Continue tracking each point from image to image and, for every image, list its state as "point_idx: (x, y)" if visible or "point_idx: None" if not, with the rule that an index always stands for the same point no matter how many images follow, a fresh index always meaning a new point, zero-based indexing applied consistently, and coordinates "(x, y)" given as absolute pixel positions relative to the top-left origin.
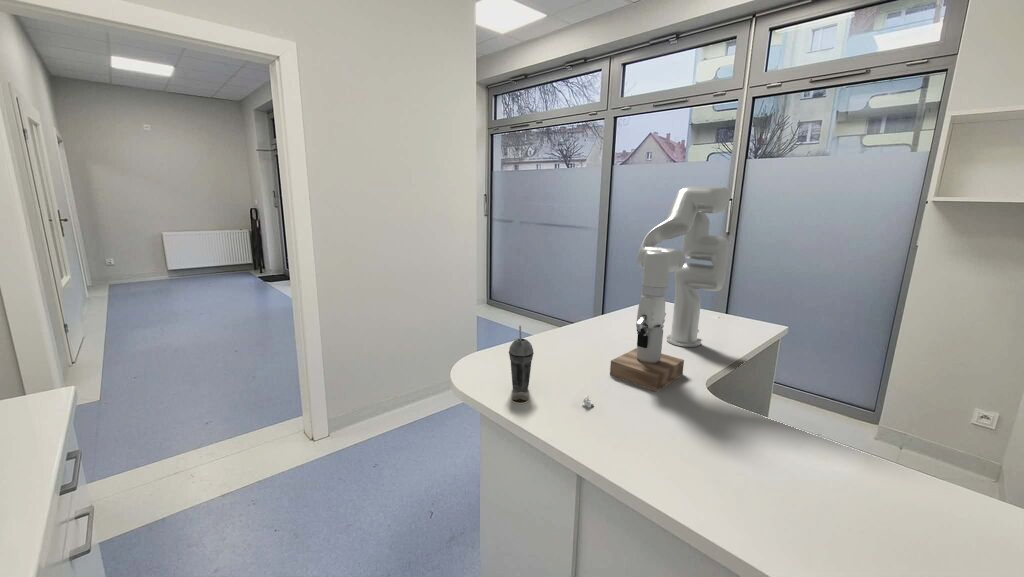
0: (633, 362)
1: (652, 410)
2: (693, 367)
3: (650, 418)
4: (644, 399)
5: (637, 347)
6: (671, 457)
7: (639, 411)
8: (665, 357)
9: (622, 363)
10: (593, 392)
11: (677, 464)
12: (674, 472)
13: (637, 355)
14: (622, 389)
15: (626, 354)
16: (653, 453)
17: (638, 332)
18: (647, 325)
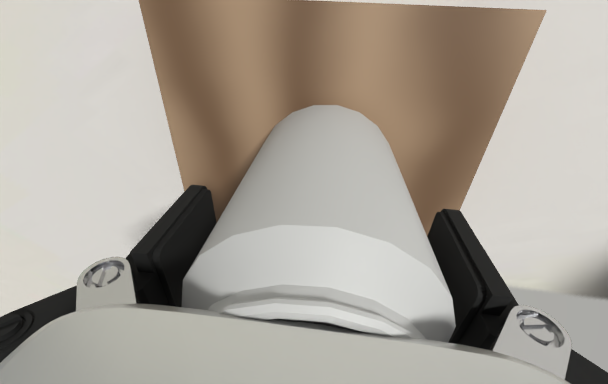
0: (233, 121)
1: (122, 231)
2: (513, 237)
3: (89, 238)
4: (148, 199)
5: (268, 144)
6: (36, 291)
7: (86, 212)
8: (417, 212)
9: (170, 80)
10: (8, 46)
11: (33, 299)
12: (16, 300)
13: (270, 133)
14: (135, 121)
15: (318, 19)
16: (12, 272)
17: (54, 302)
18: (434, 283)
